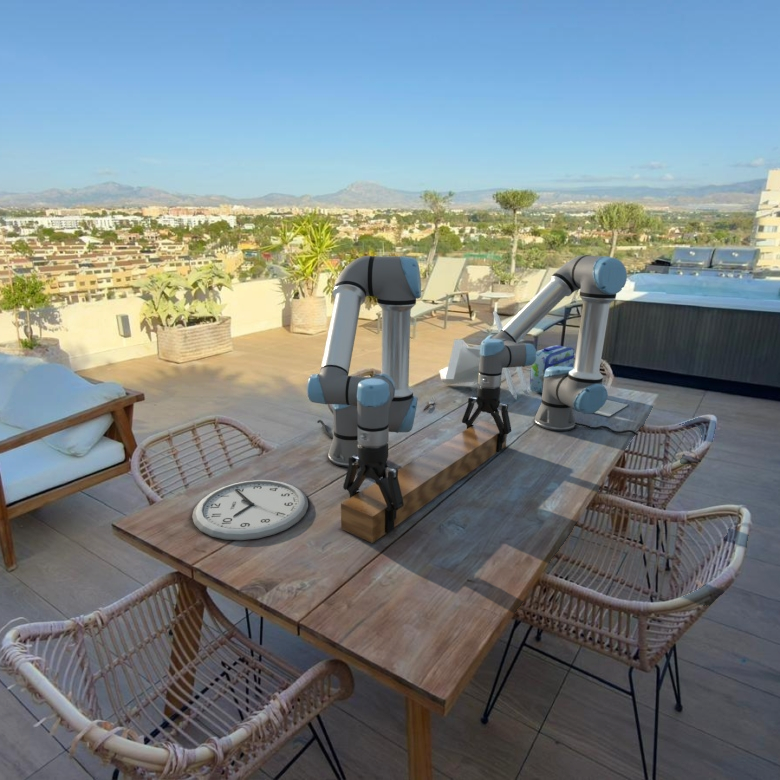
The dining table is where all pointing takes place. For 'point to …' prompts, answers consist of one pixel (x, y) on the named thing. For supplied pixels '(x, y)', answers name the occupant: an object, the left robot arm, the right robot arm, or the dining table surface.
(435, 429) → the dining table surface
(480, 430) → the wide beam
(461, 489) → the dining table surface
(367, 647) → the dining table surface
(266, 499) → the wall clock
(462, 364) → the white plastic object
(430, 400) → the fork
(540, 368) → the lunch box
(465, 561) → the dining table surface
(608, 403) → the invitation card
